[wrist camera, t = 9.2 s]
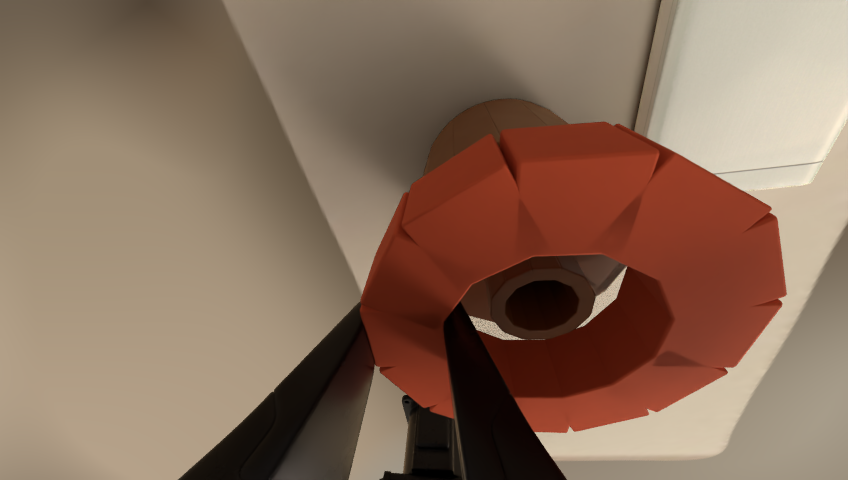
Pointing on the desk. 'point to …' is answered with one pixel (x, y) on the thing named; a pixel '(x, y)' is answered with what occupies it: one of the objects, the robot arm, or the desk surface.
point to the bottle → (537, 276)
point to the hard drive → (748, 87)
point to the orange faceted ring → (578, 235)
